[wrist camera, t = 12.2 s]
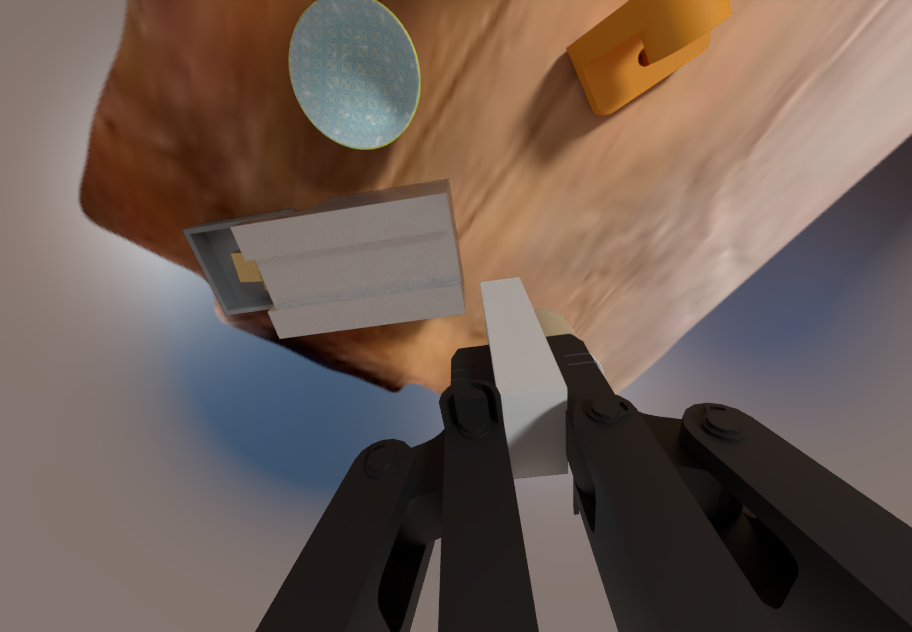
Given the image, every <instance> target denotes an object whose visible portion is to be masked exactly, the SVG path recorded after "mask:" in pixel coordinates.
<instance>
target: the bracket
mask: <svg viewBox="0 0 912 632" xmlns="http://www.w3.org/2000/svg"><path fill="white" fill-rule="evenodd" d="M731 13H732V12H731V8H730V4H729V0H629V1H628V2H627V3H625V4H624V5H623V6H621V7H620V8H619V9H617V10H616V11H615V12H613V13H612V14H611V15H609V16H608V17H607V18H606V19H604V20H603V21H602V22H600V23H599V24H598V25H596V26H595V27H594V28H592V29H591V30H590V31H588V32H587V33H586V34H584V35H583V36H582V37H580V38H579V39H578V40H576V41H575V42H574V43H573V44H571V45H570V46H569V47H567V48H566V49H567V51H568V54H569V56H570V58H571V61H572V63H573V66H574V68H575V70H576V73H577V75H578V78H579V80H580V82H581V85H582V87H583V89H584V92H585V94H586V97H587V99H588V101H589V104H590V106H591V108H592V111H593V112H594V113H595V114H596V115H599V116H601V115H609V114H611V113H613V112H615V111H616V110H618V109H619V108H621V107H622V106H624V105H625V104H626V103H628V102H629V101H631V100H632V99H634V98H635V97H637V96H638V95H640V94H641V93H643V92H644V91H646V90H647V89H649V88H650V87H652V86H653V85H655V84H656V83H658V82H659V81H661V80H662V79H664V78H665V77H667V76H668V75H670V74H671V73H673V72H674V71H676V70H677V69H679V68H680V67H682V66H683V65H684V64H686V63H687V62H689V61H690V60H692V59H693V58H695V57H696V56H698V55H699V54H701V53H702V52H704V51H705V49H706V48H707V47H708V45H709V42H710V32H709V31H710V30H712V29H713V28H714V27H716V26H717V25H719V24H720V23H721V22H723V21H724V20H725V19H726V18H728V17H729V16H730V15H731ZM639 53H640V55H641V56H642V63H641V65H640V64H639V62H638V56H639Z"/></svg>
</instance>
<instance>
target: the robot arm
mask: <svg viewBox="0 0 912 632" xmlns="http://www.w3.org/2000/svg"><path fill="white" fill-rule="evenodd" d="M480 285H481V293H482V301H483V309H484V317H485V324H486V332H487V340H488V345H484V346H476V347H468V348H460V349H458V350H457V351H456V353H455V354H454V356H453V357H452V359H451V386H449V387H448V388H447V389H446V390H445V391H444V392H443V393H442V394H441V397H440V400H439V405H440V409H441V414H442V418H443V423H444V427H445V429H444V430H443V431H442V432H441V433H440V434H439V435H437V436H436V437H435V438H433V439H432V440H429V441H427V442H425V443H423V444H420V445H418V446H415V447H412V448H410V446H408V445H407V444H406V443H405V442H403V441H400V440H396V439H389V440H382V441H379V442H376V443H373V444H371V445H370V446H369V447H367V448H366V449H364V450H363V451H362V452H361V453H360V454H359V455H358V457H357V458H356V459H355V460H354V462H353V464H352V465H351V467H350V469H349V471H348V472H347V474H346V476H345V478H344V479H343V481H342V483H341V484H340V486H339V488H338V490H337V491H336V493H335V495H334V497H333V498H332V500H331V502H330V503H329V505H328V507H327V509H326V510H325V512H324V514H323V516H322V517H321V519H320V521H319V522H318V524H317V526H316V528H315V529H314V531H313V533H312V535H311V536H310V538H309V540H308V541H307V543H306V545H305V547H304V548H303V550H302V552H301V553H300V555H299V557H298V559H297V560H296V562H295V564H294V566H293V567H292V569H291V571H290V572H289V574H288V576H287V578H286V579H285V581H284V583H283V585H282V586H281V588H280V590H279V591H278V593H277V595H276V597H275V598H274V600H273V602H272V604H271V605H270V607H269V609H268V611H267V612H266V614H265V616H264V617H263V619H262V621H261V623H260V624H259V626H258V628H257V629H256V631H255V632H410V629H411V625H412V622H413V618H414V615H415V611H416V607H417V604H418V600H419V597H420V593H421V590H422V586H423V582H424V579H425V575H426V572H427V568H428V564H429V561H430V557H431V554H432V550H433V546H434V542H435V540H437V539H439V538H441V563H440V564H441V565H440V592H439V593H440V594H439V621H438V632H539V630H538V624H537V618H536V612H535V606H534V600H533V595H532V588H531V582H530V576H529V570H528V564H527V558H526V553H525V546H524V540H523V534H522V528H521V522H520V516H519V510H518V504H517V498H516V492H515V486H514V480H513V479H518V478H528V477H538V476H548V475H558V474H567V473H568V462H569V465H570V468H571V471H572V474H573V508H574V515H576V514H579V511H580V514H581V517H582V520H583V523H584V526H585V529H586V533H587V535H588V539H589V542H590V545H591V548H592V551H593V554H594V557H595V561H596V563H597V567H598V570H599V573H600V576H601V579H602V582H603V585H604V589H605V592H606V595H607V598H608V601H609V604H610V607H611V610H612V613H613V617H614V620H615V623H616V626H617V629H618V632H912V528H911V527H910V526H908V525H907V524H906V523H904V522H903V521H901V520H900V519H898V518H897V517H895V516H894V515H893V514H891V513H890V512H888V511H887V510H885V509H884V508H882V507H881V506H879V505H878V504H877V503H875V502H874V501H872V500H871V499H869V498H868V497H866V496H865V495H864V494H862V493H861V492H859V491H858V490H856V489H855V488H854V487H852V486H851V485H849V484H848V483H846V482H845V481H843V480H842V479H841V478H839V477H838V476H836V475H835V474H833V473H832V472H830V471H829V470H828V469H826V468H825V467H823V466H822V465H820V464H819V463H817V462H816V461H815V460H813V459H812V458H810V457H809V456H807V455H806V454H804V453H803V452H801V451H800V450H799V449H797V448H796V447H794V446H793V445H791V444H790V443H788V442H787V441H786V440H784V439H783V438H781V437H780V436H778V435H777V434H775V433H774V432H772V431H771V430H770V429H768V428H767V427H765V426H764V425H762V424H761V423H760V422H758V421H757V420H755V419H754V418H752V417H751V416H749V415H747V414H745V413H743V412H741V411H740V410H738V409H735V408H732V407H728V406H725V405H722V404H714V403H702V404H695V405H693V406H691V407H689V408H687V409H686V411H685V413H684V415H683V417H682V419H676V418H667V417H659V416H653V415H648V414H644V413H641V412H638V410H637V409H636V408H635V407H634V406H633V404H632V403H631V402H630V401H628V400H626V399H624V398H622V397H621V396H619V395H615V394H614V392H613V390H612V389H611V387H610V385H609V384H608V382H607V380H606V379H605V377H604V375H603V374H602V372H601V370H600V369H599V367H598V365H597V364H596V362H594V359H593V357H592V356H591V354H589V351H588V349H587V347H586V346H585V344H584V342H583V341H582V340H580V339H579V338H577V337H576V336H574V335H572V334H571V333H570V334H562V335H554V336H546V337H545V335H544V333H543V331H542V328H541V326H540V324H539V321H538V319H537V317H536V314H535V312H534V310H533V308H532V305H531V303H530V301H529V298H528V296H527V294H526V291H525V289H524V287H523V284H522V282H521V280H520V277H516V278H509V279H502V280H495V281H488V282H480Z"/></svg>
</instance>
